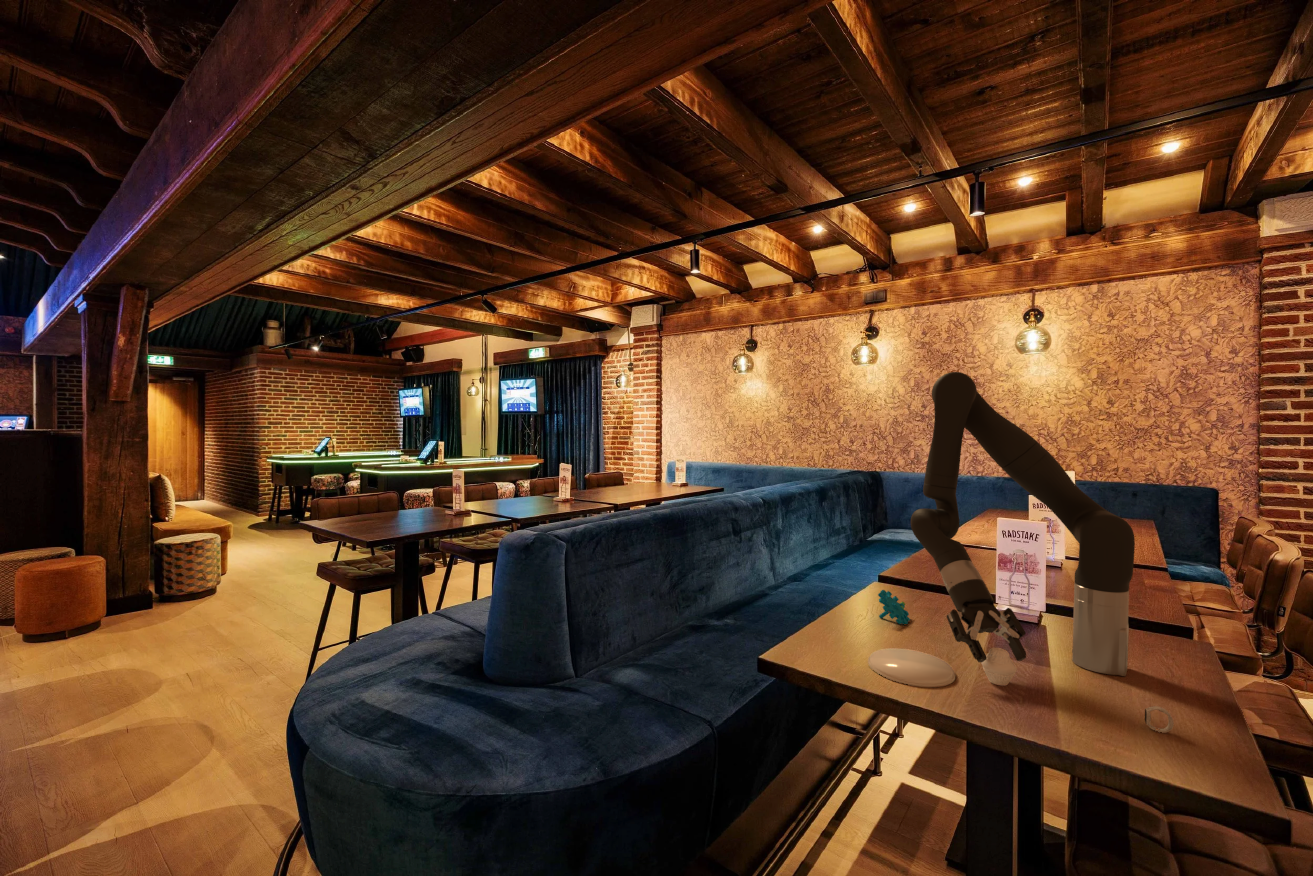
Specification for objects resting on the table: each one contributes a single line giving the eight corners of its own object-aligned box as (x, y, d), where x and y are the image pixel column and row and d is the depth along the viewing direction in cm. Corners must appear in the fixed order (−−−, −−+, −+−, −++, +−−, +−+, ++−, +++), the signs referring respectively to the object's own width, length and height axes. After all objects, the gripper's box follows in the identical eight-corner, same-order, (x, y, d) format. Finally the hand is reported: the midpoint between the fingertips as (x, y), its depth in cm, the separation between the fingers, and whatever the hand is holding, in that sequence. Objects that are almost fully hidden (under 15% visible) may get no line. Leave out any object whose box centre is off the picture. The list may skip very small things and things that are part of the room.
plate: (965, 668, 120) (965, 662, 120) (940, 695, 108) (941, 689, 108) (885, 646, 131) (885, 641, 131) (854, 669, 119) (854, 663, 119)
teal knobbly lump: (899, 623, 142) (875, 589, 148) (882, 636, 145) (859, 601, 151) (919, 620, 149) (896, 587, 155) (902, 632, 152) (880, 599, 158)
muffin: (1008, 692, 109) (1009, 656, 109) (975, 680, 114) (975, 646, 114) (1021, 683, 113) (1022, 649, 113) (989, 672, 118) (989, 639, 118)
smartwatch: (1172, 732, 96) (1172, 708, 96) (1174, 737, 94) (1174, 713, 94) (1144, 725, 98) (1144, 702, 98) (1145, 730, 96) (1146, 707, 96)
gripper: (943, 578, 120) (979, 653, 109) (1004, 577, 122) (1046, 651, 111) (927, 595, 125) (960, 669, 114) (986, 594, 127) (1024, 666, 116)
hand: (1002, 660), depth 113 cm, fingers open, 8 cm apart
